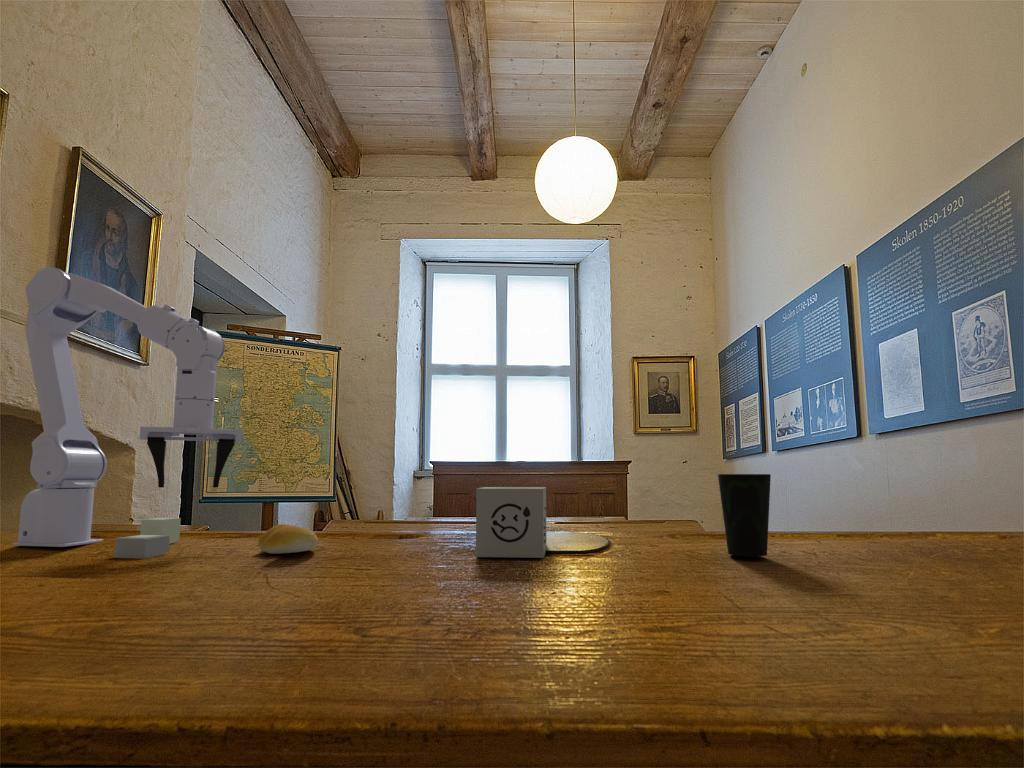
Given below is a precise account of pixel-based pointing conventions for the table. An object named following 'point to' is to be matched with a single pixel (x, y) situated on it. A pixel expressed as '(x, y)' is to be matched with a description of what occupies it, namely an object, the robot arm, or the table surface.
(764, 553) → the cup
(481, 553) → the icon cube
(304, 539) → the bread roll
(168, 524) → the sage block
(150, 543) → the grey block
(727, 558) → the table surface
